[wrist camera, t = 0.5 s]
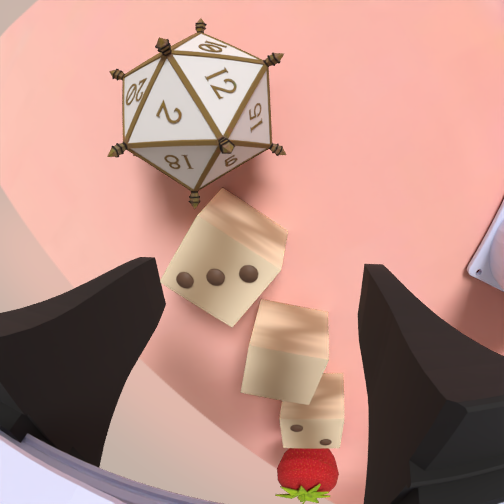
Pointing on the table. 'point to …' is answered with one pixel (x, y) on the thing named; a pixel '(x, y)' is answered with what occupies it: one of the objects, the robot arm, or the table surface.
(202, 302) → the pip block
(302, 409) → the pip block
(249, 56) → the game die
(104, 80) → the table surface
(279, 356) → the plain block
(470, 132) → the table surface
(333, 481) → the strawberry
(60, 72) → the table surface
